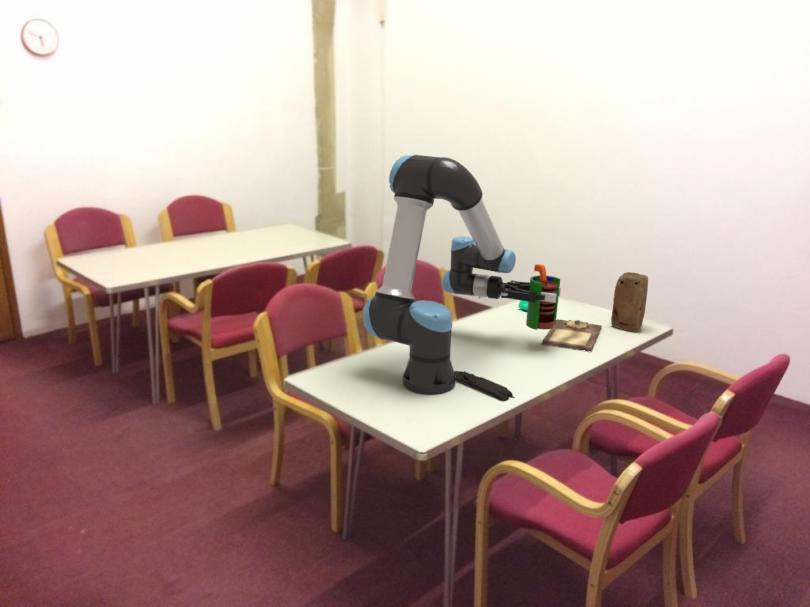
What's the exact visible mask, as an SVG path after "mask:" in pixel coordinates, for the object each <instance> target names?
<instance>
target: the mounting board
mask: <svg viewBox="0 0 810 607" xmlns="http://www.w3.org/2000/svg"><path fill="white" fill-rule="evenodd" d="M602 327H603V326H602V325H601V324H594V323H588V321H582V320H580V319H576V320H573V319H572V320H571V319H569V320H565V319H558V318H556V324H554V327H553V328H552V329H548V332H547V334H546V335H545V336H544V338H543V340H542V341H541V342H542V343H541V344H542V345H543V344H544V345H543V346H550V345H552V346H551V347H556V346H558V347H557V348H563V347H564V349H569V348H572V349H571V350H576V349H578V351H582V350H585V351H584V352H589V351H591V350H593V348H594V346H595V344H596V342H597V340H596V339H598V337H599V335H600V333H599V332H601V331H600V330H602ZM591 352H592V351H591Z"/></svg>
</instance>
